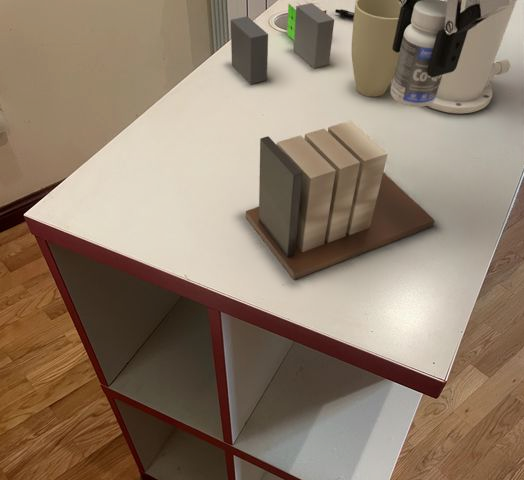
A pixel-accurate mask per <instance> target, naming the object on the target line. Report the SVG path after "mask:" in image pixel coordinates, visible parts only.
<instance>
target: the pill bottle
mask: <svg viewBox="0 0 524 480" xmlns="http://www.w3.org/2000/svg"><path fill="white" fill-rule="evenodd" d="M446 8H447V2H446V1H444V0H421V1H418V2H417V3H416V4H415V6H414V10H413V14H412V19H411V24H410V25H408V26H407V28H406V29H405V32H404V35H403V39H402V44H401V48H400V52H399V56H398V61H397V65H396V69H395V74H394V78H393V81H391V87H390V95H391V98H392V99H394V101H396V102H397V103H399V104H400V105H403V106H407V107H410V108H411V107H412V108H413V107H414V108H421V107H426V105H429V104H431V103H432V102H433V101H434V100H435V98H436V94H437V91H438V88H439V85H440V81H441V78H442V75H439V76H436V77H430V76H429V75H428V74H427V69H428V65H429V62H430V58H431V54H432V51H433V47H434V43H435V40H436V36H437V33H438V31H440V30H444V28H445V17H446Z"/></svg>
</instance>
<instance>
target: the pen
mask: <svg viewBox="0 0 524 480" xmlns="http://www.w3.org/2000/svg"><path fill="white" fill-rule="evenodd" d="M334 12H335V13H336V14H338V15H339V16H340V17H343V18H347V19H353V20H354V12H353V11H349V10H347V9H342V8H340V9H338V8H336V9H335V10H334Z"/></svg>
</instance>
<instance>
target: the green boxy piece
mask: <svg viewBox="0 0 524 480" xmlns="http://www.w3.org/2000/svg"><path fill="white" fill-rule="evenodd" d="M309 3H312V4H314V5H315V6H317V7H318V8H319V9H321V10H322V11H323V12H325V13H326V14H327V11H328V10H327V9H326V8H324V7H323V6H322V5H321V4H320V3H318V2H317V1H316V0H302V1H296V2H291V3H290V2H289V3H288V5H287V7H288V8H287V23H286V24H287V25H286V35H287V36H288V37H289V38H290V39H291V40H292V41H294V34H295V19H296V6H300V5H304V4H309Z"/></svg>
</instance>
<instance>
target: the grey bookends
mask: <svg viewBox="0 0 524 480" xmlns="http://www.w3.org/2000/svg"><path fill="white" fill-rule="evenodd" d="M334 26H335V18H333V17H332V16H330V15H329V14H328V13H327V12H326V13H325V12H323V11H322V10H321V9H319V8H318V7H317V6H315V5H314V4H312V3H309V4H304V5H300V6H296V19H295V34H294V40H293V49H292V50H293V53H295V54H296V55H298V56H299V57H300V58H301V59H302V60H303V61H304V62H306V63H307V64H308V66H310V67H311V68H312V69H318V68H321V67H326V66H329V65H330V60H331V51H332V44H333V43H332V42H333V35H334ZM230 45H231V47H230V48H231V50H230V51H231V66H232V67H233V68H234V69H235V70H236V71H237V72H238V73H239V74H240V75H241V76H242V77H243V79H245V81H247V82H248V83H249V84H250V85H255V84H258V83H262V82H266V81H268V56H269V54H268V52H269V33H268V32H267V31H266V30H264V29H263V28H261V26H259V25H258V24H257V23H256V22H255V21H254V20H253V19H251V18H250V17H249V16H243V17H236V18H233V19H230Z"/></svg>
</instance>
